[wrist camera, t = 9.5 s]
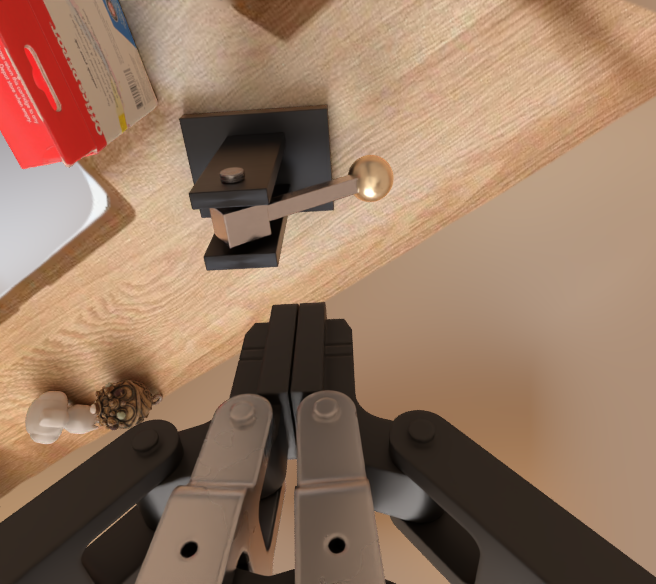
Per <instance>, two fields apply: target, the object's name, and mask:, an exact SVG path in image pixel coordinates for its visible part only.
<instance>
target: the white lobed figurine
mask: <svg viewBox="0 0 656 584" xmlns="http://www.w3.org/2000/svg"><path fill="white" fill-rule="evenodd" d="M90 407H91V406H89V405H79V404H78V405H74V406H72V407H68V400H67V396H66V394H64V393H63V392H61V391H48V392H45V393H43V394H41V395H40V396H39V397H38V398H36V399H35V400H34V401H33V402H32V404H31V405H30V407H29V409H28V411H27V414H26V421H25V424H26V430H27V432H28V433H29V434H30V437H31V439H32V440H33V441H35V442H37V443H43V444H51V443H53V442H55V441H56V440H57V439H58V437H59V436H60V435H61V433H62V430H63V429H66V430H67V431H68V432H70V433H76V434H84V433H87V432H89V431H92V430H95V429H97V428H98V426H95V425H94V424H96V423H99V419H98V418H97V417H96V416H97V415H96V414H95V415H93V414H92V413H91V412H90Z"/></svg>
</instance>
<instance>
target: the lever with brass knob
mask: <svg viewBox="0 0 656 584" xmlns="http://www.w3.org/2000/svg"><path fill="white" fill-rule="evenodd" d="M392 185H393V171H392V169H391V167H390V165H389V164H388V162H387V161H386V160H384V159H383V158H381V157H379V156H376V155H367V156H363V157H361V158H359V159H357V160H356V161H355V162H354V163H353V164H352V166H351V167H350V170H349V172H348V175H347V176H344V177H340V178H337V179H334V180H330V181H327V182H323V183H320V184H317V185H313V186H310V187H307V188H303V189H300V190H296V191H293V192H290V193H286V194H283V195H280V196H276V197H273V198H271V200H270V203H269V205H260V206H243V207H226V208H209V209H210V213H211V218H212V223H213V227H214V232H215V235H216V236H217V237H218V238H219V239H220V240H222V241H223V242H224V243H225V244H226V245H227V246H228V247H229V248H233V247H236V246H239V245H242V244H245V243H248V242H251V241H254V240H257V239H260V238H263V237H266V236H269V235H271V229H270V222H269V221H272V220H275V219H278V218H282V217H285V216H288V215H291V214H294V213H297V212H300V211H303V210H307V209H310V208H313V207H316V206H319V205H322V204H325V203H328V202H332V201H335V200H338V199H341V198H344V197H347V196H350V195H354V196H356V197H357V198H358V199H360V200H362V201H366V202H375V201H378V200H380V199H382V198H384V197H385V196H386V195H387V194H388V193H389V191H390V190H391V188H392Z"/></svg>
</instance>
